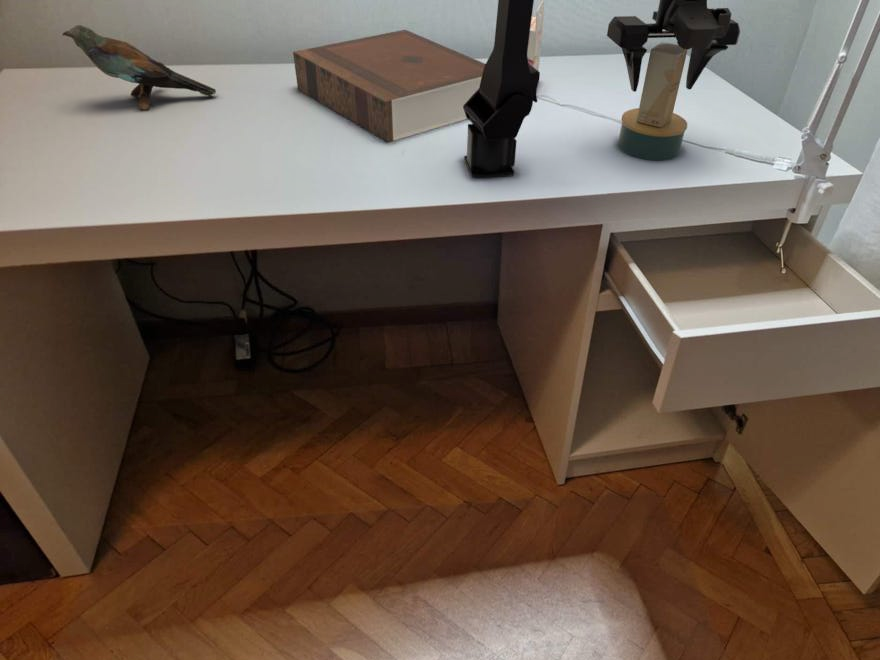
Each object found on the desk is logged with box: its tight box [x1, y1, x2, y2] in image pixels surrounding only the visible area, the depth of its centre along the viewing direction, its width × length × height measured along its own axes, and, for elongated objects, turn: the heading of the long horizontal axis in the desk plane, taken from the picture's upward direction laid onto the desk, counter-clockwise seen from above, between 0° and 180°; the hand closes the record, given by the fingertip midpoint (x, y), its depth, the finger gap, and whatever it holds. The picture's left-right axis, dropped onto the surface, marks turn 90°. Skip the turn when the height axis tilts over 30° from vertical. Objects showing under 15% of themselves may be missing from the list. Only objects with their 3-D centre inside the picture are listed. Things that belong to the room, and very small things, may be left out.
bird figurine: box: [62, 24, 217, 111], centre depth 115 cm, size 13×10×20 cm
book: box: [292, 29, 486, 143], centre depth 122 cm, size 24×28×6 cm
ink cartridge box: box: [527, 0, 545, 71], centre depth 126 cm, size 9×5×15 cm, turn 168°
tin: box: [617, 107, 688, 161], centre depth 111 cm, size 10×10×4 cm
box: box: [637, 41, 689, 128], centre depth 106 cm, size 5×4×11 cm
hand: (661, 89), depth 107 cm, fingers open, 9 cm apart
